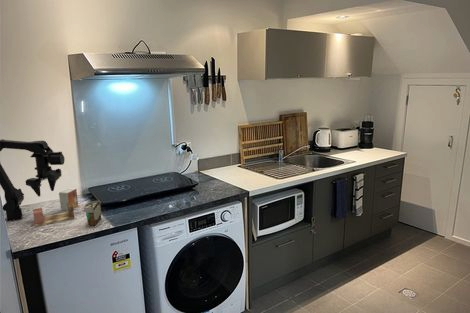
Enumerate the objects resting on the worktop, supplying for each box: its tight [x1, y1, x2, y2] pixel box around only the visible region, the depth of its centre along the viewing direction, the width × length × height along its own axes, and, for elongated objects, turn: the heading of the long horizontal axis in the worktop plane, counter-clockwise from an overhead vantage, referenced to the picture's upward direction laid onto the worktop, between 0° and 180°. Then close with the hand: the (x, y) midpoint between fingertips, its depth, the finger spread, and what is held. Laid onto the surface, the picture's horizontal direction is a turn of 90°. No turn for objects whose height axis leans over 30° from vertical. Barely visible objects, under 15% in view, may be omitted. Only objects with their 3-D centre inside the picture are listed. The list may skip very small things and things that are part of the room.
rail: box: [34, 202, 76, 228], centre depth 178 cm, size 18×8×7 cm, turn 122°
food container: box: [83, 200, 102, 227], centre depth 173 cm, size 12×6×10 cm, turn 5°
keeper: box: [32, 207, 44, 225], centre depth 174 cm, size 4×6×6 cm, turn 32°
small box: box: [58, 188, 79, 211], centre depth 195 cm, size 8×6×10 cm
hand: (46, 193), depth 181 cm, fingers open, 9 cm apart
